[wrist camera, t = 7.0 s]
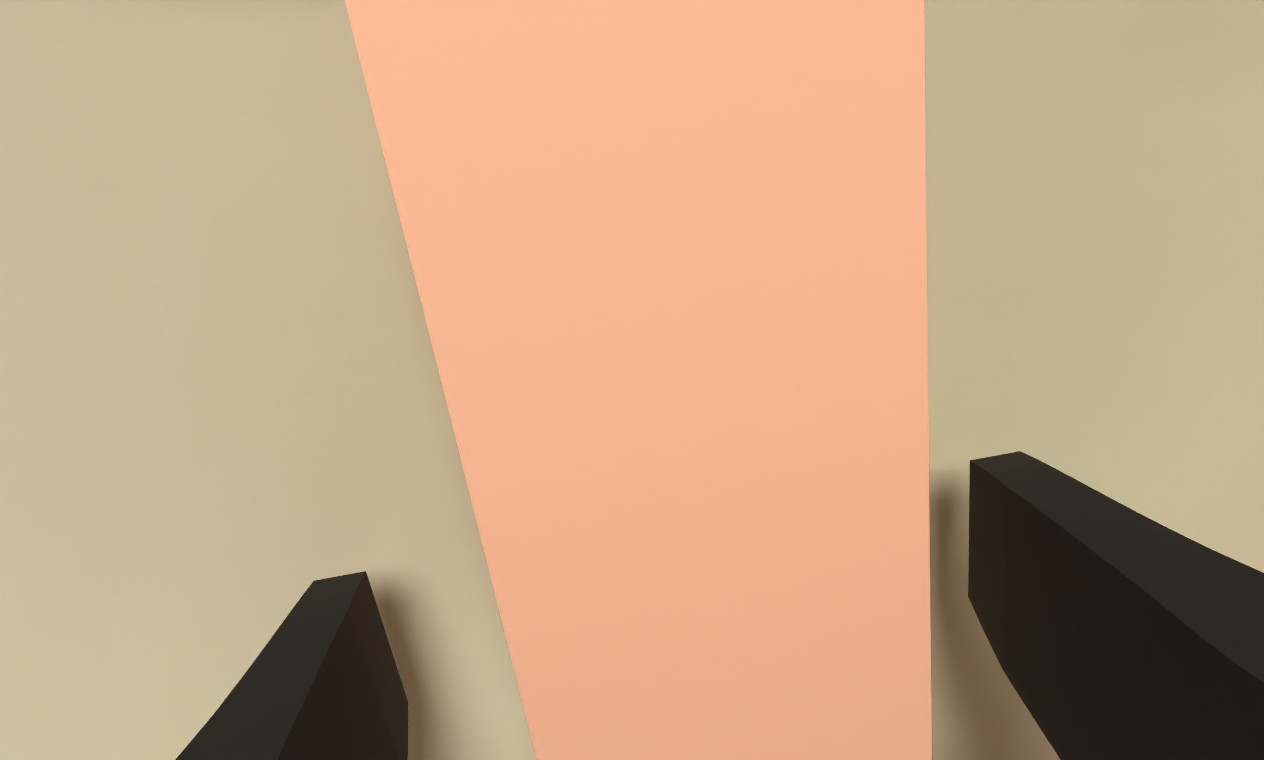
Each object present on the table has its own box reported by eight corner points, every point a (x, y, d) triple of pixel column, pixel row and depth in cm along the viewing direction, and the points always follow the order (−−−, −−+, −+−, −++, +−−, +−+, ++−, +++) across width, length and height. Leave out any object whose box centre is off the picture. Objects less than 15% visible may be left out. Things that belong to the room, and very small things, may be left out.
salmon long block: (374, -280, 10) (228, -442, 4) (693, -328, 10) (922, -546, 5) (569, 626, 15) (611, 1059, 9) (779, 587, 15) (935, 993, 10)
